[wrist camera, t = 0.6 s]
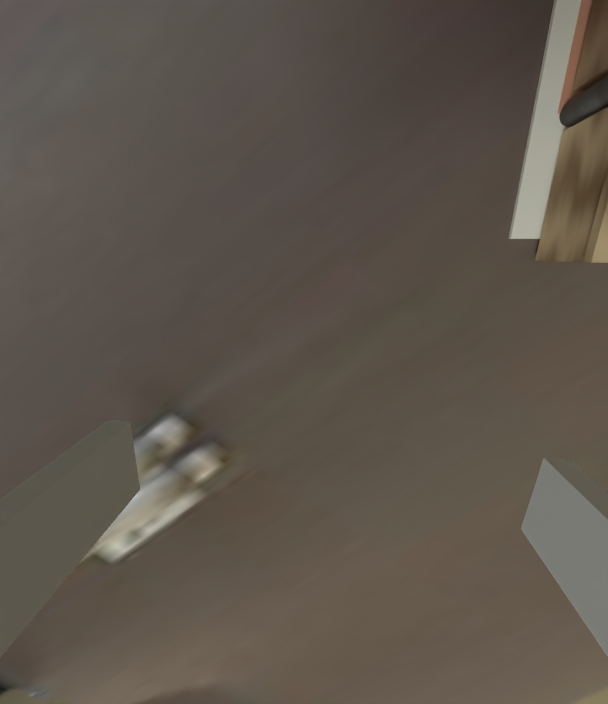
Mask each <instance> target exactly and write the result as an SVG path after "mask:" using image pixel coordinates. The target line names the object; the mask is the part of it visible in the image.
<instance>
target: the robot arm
mask: <svg viewBox="0 0 608 704" xmlns="http://www.w3.org/2000/svg"><path fill="white" fill-rule="evenodd" d="M139 490H140V485H139V478H138V472H137V465H136V458H135V451H134V445H133V438H132V431H131V424H130V422H126V421H115V420H108V421H106V422H105V423H104V424H102V425H101V426H100V427H98V428H97V429H95V430H94V431H93V432H91V433H90V434H89V435H87V436H86V437H84V438H83V439H82V440H80V441H79V442H78V443H76V444H75V445H73V446H72V447H71V448H69V449H68V450H67V451H65V452H64V453H63V454H61V455H60V456H58V457H57V458H56V459H54V460H53V461H52V462H50V463H49V464H47V465H46V466H45V467H43V468H42V469H41V470H39V471H38V472H37V473H35V474H34V475H32V476H31V477H30V478H28V479H27V480H26V481H24V482H23V483H21V484H20V485H19V486H17V487H16V488H15V489H13V490H12V491H10V492H9V493H8V494H6V495H5V496H4V497H2V498H1V499H0V658H1V656H2V655H3V654H4V653H5V652H6V650H7V649H8V648H9V647H10V645H11V644H12V643H13V642H14V641H15V639H16V638H17V637H18V636H19V635H20V633H21V632H22V631H23V630H24V629H25V627H26V626H27V625H28V624H29V623H30V621H31V620H32V619H33V618H34V617H35V615H36V614H37V613H38V612H39V611H40V609H41V608H42V607H43V606H44V604H45V603H46V602H47V601H48V600H49V598H50V597H51V596H52V595H53V594H54V592H55V591H56V590H57V589H58V588H59V586H60V585H61V584H62V583H63V582H64V580H65V579H66V578H67V577H68V576H69V574H70V573H71V572H72V571H73V570H74V568H75V567H76V566H77V565H78V564H79V562H80V561H81V560H82V559H83V557H84V556H85V555H86V554H87V553H88V551H89V550H90V549H91V548H92V547H93V545H94V544H95V543H96V542H97V541H98V539H99V538H100V537H101V536H102V535H103V533H104V532H105V531H106V530H107V529H108V527H109V526H110V525H111V524H112V523H113V521H114V520H115V519H116V518H117V517H118V515H119V514H120V513H121V512H122V510H123V509H124V508H125V507H126V506H127V504H128V503H129V502H130V501H131V500H132V498H133V497H134V496H135V495H136V494H137V492H138V491H139ZM521 530H522V531H523V533H524V534H525V536H526V537H527V539H528V540H529V542H530V543H531V545H532V546H533V547H534V549H535V550H536V552H537V553H538V555H539V556H540V558H541V559H542V561H543V562H544V564H545V565H546V567H547V568H548V570H549V571H550V572H551V574H552V575H553V577H554V578H555V580H556V581H557V583H558V584H559V586H560V587H561V589H562V590H563V592H564V593H565V595H566V596H567V597H568V599H569V600H570V602H571V603H572V605H573V606H574V608H575V609H576V611H577V612H578V614H579V615H580V617H581V618H582V620H583V621H584V622H585V624H586V625H587V627H588V628H589V630H590V631H591V633H592V634H593V636H594V637H595V639H596V640H597V642H598V643H599V645H600V646H601V647H602V649H603V650H604V652H605V653H606V655H607V656H608V492H607V491H606V490H605V489H603V488H602V487H601V486H600V485H599V484H598V483H597V482H595V481H594V480H593V479H592V478H591V477H590V476H588V475H587V474H586V473H585V472H584V471H583V470H582V469H580V468H579V467H578V466H577V465H576V464H575V463H573V462H572V461H571V460H563V459H551V458H544V459H543V462H542V465H541V468H540V471H539V475H538V478H537V481H536V484H535V487H534V490H533V493H532V496H531V499H530V503H529V506H528V509H527V512H526V515H525V518H524V521H523V524H522V527H521Z"/></svg>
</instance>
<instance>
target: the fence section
mask: <svg viewBox="0 0 608 704" xmlns="http://www.w3.org/2000/svg"><path fill="white" fill-rule="evenodd" d="M573 91H584V92H582V93H580V94H579V95H577V96H576V97H574V98H573V99H571V100H570V101H568V102H567V103H566V104H565V105H564V106H563V108H562V110H561V113H560V115H559V119H560V122H561V124H562V125H563V126H565V127H571V126H574V125H576V124H578V123H579V122H581V121H583V120H585V119H587V118H589V117H590V116H592V115H594V114H596V113H598V112H600V111H602V110H603V109H605V108H607V107H608V0H592V5H591V10H590V14H589V19H588V23H587V28H586V32H585V37H584V41H583V46H582V50H581V55H580V59H579V64H578V69H577V73H576V78H575V82H574V87H573Z"/></svg>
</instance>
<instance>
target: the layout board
mask: <svg viewBox="0 0 608 704" xmlns="http://www.w3.org/2000/svg"><path fill="white" fill-rule="evenodd" d="M591 5H592V0H554V4H553V9H552V14H551V19H550V25H549V30H548V35H547V40H546V46H545V51H544V56H543V61H542V66H541V72H540V77H539V82H538V87H537V92H536V98H535V103H534V108H533V113H532V119H531V124H530V129H529V134H528V139H527V145H526V150H525V155H524V160H523V166H522V171H521V176H520V181H519V186H518V192H517V197H516V202H515V207H514V213H513V218H512V223H511V228H510V233H509V239H540V237H541V232H542V227H543V223H544V218H545V214H546V209H547V205H548V200H549V196H550V191H551V187H552V182H553V177H554V173H555V168H556V164H557V159H558V155H559V150H560V146H561V141H562V137H563V132H564V131H565V130H566V129H568V128H570V127H565V126H563V125H562V124H561V122H560V119H559V115H560V113H561V110H562V108H563V106H564V105H565V104H566V103H567V102H568V101H570V100H571V99H573V98H574V97H576V96H577V95H579V94H580V93H582V92H584V91H573V87H574V82H575V78H576V73H577V69H578V64H579V59H580V55H581V50H582V46H583V41H584V37H585V32H586V28H587V23H588V19H589V14H590V10H591ZM571 127H572V126H571Z"/></svg>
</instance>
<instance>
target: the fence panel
mask: <svg viewBox="0 0 608 704" xmlns="http://www.w3.org/2000/svg"><path fill="white" fill-rule="evenodd" d="M535 261H563V262H602V263H608V107H607V108H605V109H603V110H602V111H600V112H598V113H596V114H594V115H592V116H590V117H589V118H587V119H585V120H583V121H581V122H579V123H578V124H576V125H574V126H572V127H570V128H568V129H566V130H565V131H564V132H563V137H562V141H561V146H560V150H559V155H558V159H557V164H556V168H555V173H554V177H553V182H552V187H551V191H550V196H549V200H548V205H547V209H546V214H545V218H544V223H543V227H542V232H541V237H540V241H539V246H538V250H537V255H536V259H535Z"/></svg>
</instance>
